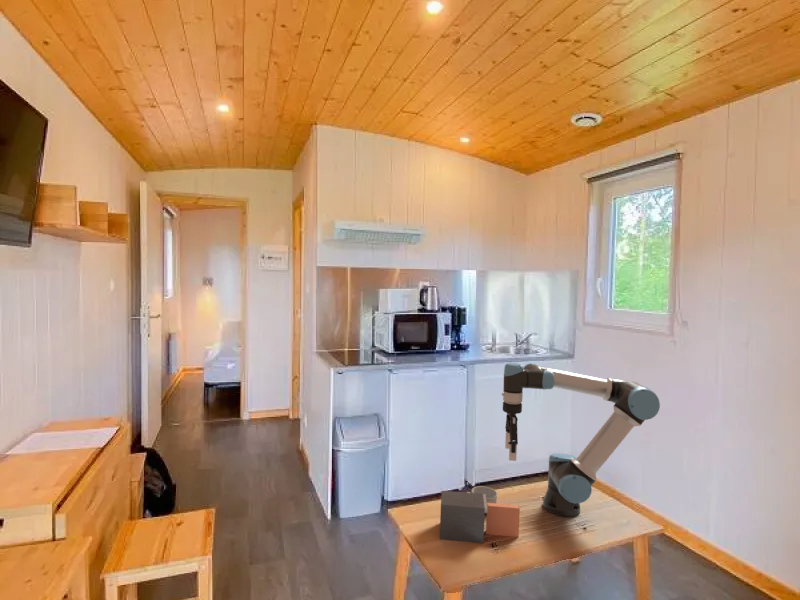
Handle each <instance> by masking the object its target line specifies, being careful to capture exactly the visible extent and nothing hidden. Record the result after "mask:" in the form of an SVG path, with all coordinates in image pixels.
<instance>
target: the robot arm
mask: <svg viewBox="0 0 800 600" xmlns="http://www.w3.org/2000/svg"><path fill="white" fill-rule="evenodd" d="M503 371H504V372H503V392H502V393H501V396H502V397H503V398H502V399H503V401H502V411H503V412H504V413H506V415H505V416H506V418H505V419H506V420H505V428H504V429H505V441H504V442H505V443H504V444H505V446H504V447H505V448H504V449H507V450H508V449H509V450H508V461H513V462H516V461H517V452H518V451H517V450H518V443H519V442H518V421H519V420H518V417H517V414H521V413H522V411H523V404H522V402H523V389H535V390H537V389H538V390H543V391H545V390H552V389H554V388H557V389H561V390H565V391H566V390H567V391H571V392H576V393H581V394H586V395H591V396H595V397H599V398H602V399H603V401H607V402H611V403H613V404H614V405H613V413H612V414H611V415H610V417H608V419H607V420H606V421H605V422H604V424H603V425H602V426H601V427H600V428H599V430H598V431H597V433H596V434H595V435H594V436H593V437H592V439H591V440H590V441H589V442H588V444H587V445H586V446H585V448H584V449H583V450H582V451H581V452H580V453H579V455H578V456H576V455H573V454H569V453H563V452H559V453H556V452H555V453H551V454H550V455H549V457H548V474H547V475H548V478H547V479H548V481H547V488H546V489H547V490H546V492H545V494H544V497H543V500H542V506H543V508H544V509H545V510H546V511H547V512H549V513H551V514H554V515H556V516H560V517H575V516H577V515H579V514H580V513H581V504H582V503H585V502H586V501H588V500H589V499H590V497H591V495H592V486H593V485H594V484H595V482H596V481H597V473H598V472H599V471H600V469H601V468H602V466H603V465H604V464H605V463H606V462H607V461H608V459H609V457H611V455H613V453H614V452H615V451H616V449H617V448H618V447H619V445H621V443H622V441H624V440H625V438H627V435H629V433H630V432H631V431H632V429H633V428H634V427H640V426H642V424H643V423H644V422H645V421H646V420H651V419H653V418H655V417H656V416H657V415H658V413H659V411H660V407H661V403H660V399H659V397H658V395H657V394H656V392H654V391H653V390H651V389H650V388H648V387H647V386H644V385H642V384H639V383H638V382H635V381H632V380H626V379H616V378H611V377H607V378H599V377H596V376H590V375H584V374H580V373H576V372H575V373H574V372H570V371H565V370H560V369H556V368H550V367H545V366H541V365H538V364H536V363H532V362H531V363H527V364H525V365H523V364H521V363H517V362H516V363H515V362H510V363H509V362H508V363H506V364H505V365H504V370H503Z"/></svg>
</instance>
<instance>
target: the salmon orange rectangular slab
mask: <svg viewBox="0 0 800 600" xmlns="http://www.w3.org/2000/svg"><path fill="white" fill-rule="evenodd" d="M520 509H521V508H520V505H519V504H518V505H517V504H507V503H506V504H505V503H497V502H496V503H487V513H486V517H485V518H486V522H485V533H486V535H492V536H504V537H512V538H513V537H514V538H519V537H520V536H519V534H520Z"/></svg>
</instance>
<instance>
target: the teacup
mask: <svg viewBox="0 0 800 600" xmlns="http://www.w3.org/2000/svg"><path fill="white" fill-rule="evenodd" d="M465 493H477V494H486V501H487V503H497V501H498V492H497V491H496V490H495V489H493V488H492V487H490V486H484V485H478V486H474V487H473V488H471V492H470V491H467V492H465ZM485 514H487V513H486V512H485Z"/></svg>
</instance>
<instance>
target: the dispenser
mask: <svg viewBox="0 0 800 600" xmlns="http://www.w3.org/2000/svg"><path fill="white" fill-rule="evenodd" d="M440 499H441V500H440V517H439V518H440V520H439V521H440V522H439V540H443V541H444V540H445V541H455V542H463V543H466V542H467V543H475V544H484V538H485V537H484V536H485V514H487V501H486V494H477V493H472V492H470V493H466V492H463V491H452V490H450V491H449V490H441V498H440ZM485 512H486V513H485Z"/></svg>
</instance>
